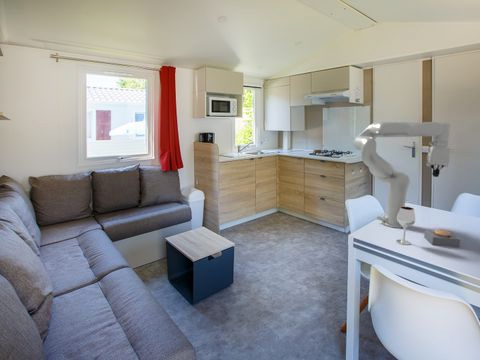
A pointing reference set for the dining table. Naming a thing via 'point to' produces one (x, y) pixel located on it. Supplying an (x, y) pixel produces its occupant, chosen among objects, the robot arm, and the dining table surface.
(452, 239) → the button box
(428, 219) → the dining table surface
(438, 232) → the button
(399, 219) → the wineglass
